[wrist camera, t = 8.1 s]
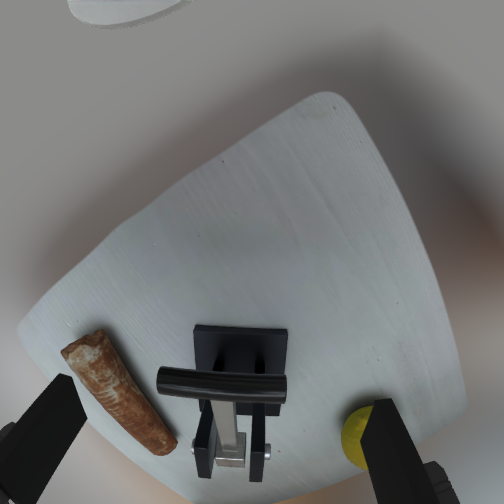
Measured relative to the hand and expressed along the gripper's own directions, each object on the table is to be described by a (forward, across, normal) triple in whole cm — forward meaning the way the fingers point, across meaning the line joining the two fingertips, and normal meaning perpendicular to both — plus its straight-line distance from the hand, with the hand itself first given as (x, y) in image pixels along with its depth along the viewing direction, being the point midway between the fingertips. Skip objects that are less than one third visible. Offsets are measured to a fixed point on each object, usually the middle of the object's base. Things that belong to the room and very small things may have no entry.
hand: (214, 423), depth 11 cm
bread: (+18, -13, -15) cm, 26 cm away
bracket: (+17, 0, -10) cm, 20 cm away
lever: (+6, 0, -5) cm, 8 cm away
